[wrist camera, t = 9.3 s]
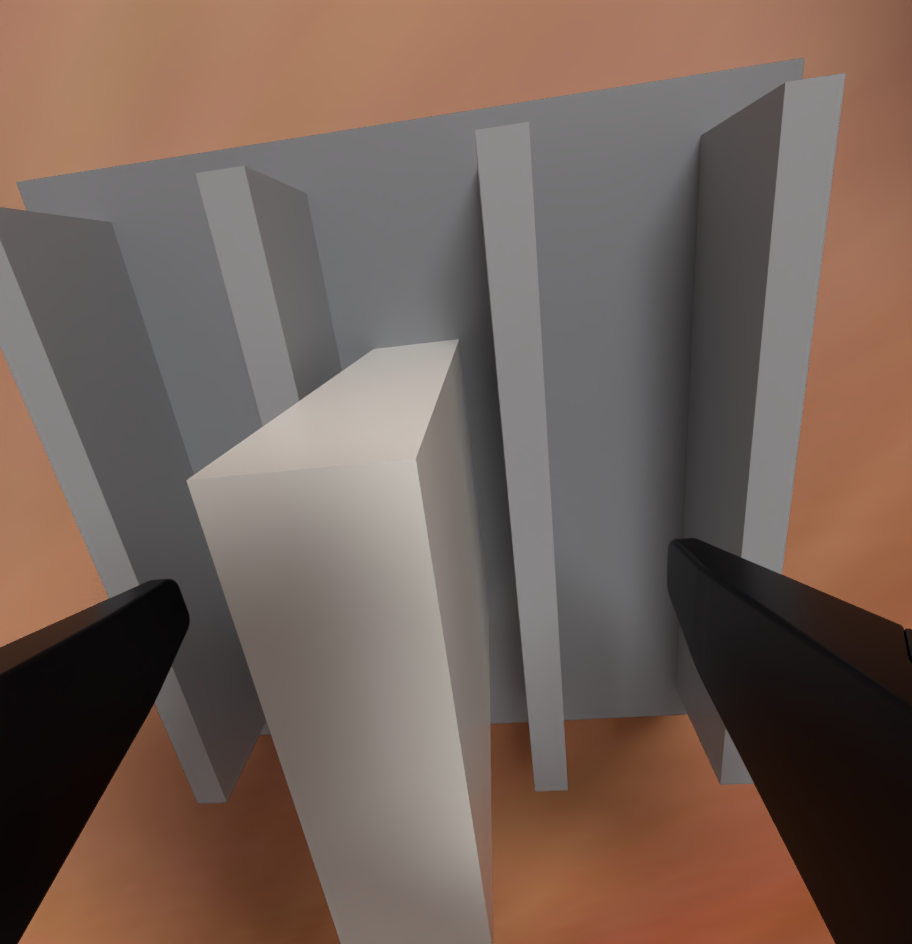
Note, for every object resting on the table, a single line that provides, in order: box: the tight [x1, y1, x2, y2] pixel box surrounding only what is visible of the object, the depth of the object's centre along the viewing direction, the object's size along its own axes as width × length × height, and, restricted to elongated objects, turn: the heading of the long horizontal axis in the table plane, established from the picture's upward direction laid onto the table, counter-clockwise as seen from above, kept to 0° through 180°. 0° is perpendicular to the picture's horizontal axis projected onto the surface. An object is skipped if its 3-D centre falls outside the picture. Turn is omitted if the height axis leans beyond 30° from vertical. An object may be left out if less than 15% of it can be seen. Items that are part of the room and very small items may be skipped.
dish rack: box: [0, 58, 846, 804], centre depth 12 cm, size 16×16×4 cm
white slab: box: [186, 339, 494, 944], centre depth 9 cm, size 7×2×8 cm, turn 7°
